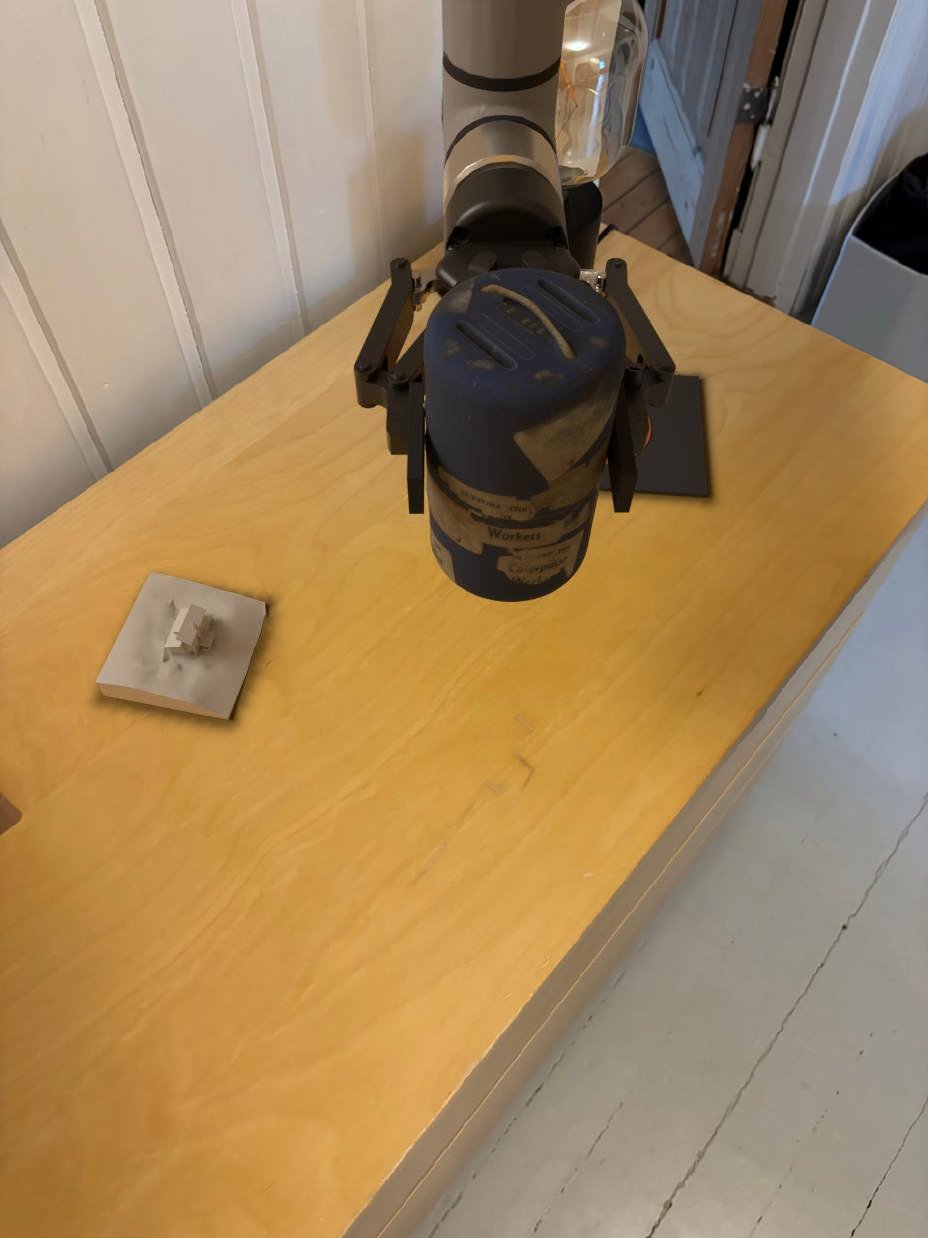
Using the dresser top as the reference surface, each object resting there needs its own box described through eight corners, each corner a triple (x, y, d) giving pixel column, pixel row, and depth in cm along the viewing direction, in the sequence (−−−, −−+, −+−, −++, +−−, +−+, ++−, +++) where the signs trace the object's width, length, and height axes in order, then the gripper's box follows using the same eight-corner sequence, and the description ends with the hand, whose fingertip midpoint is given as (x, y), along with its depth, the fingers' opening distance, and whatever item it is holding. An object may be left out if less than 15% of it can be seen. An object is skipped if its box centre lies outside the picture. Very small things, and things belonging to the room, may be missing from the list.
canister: (469, 636, 53) (475, 404, 38) (404, 517, 58) (387, 268, 43) (615, 580, 56) (676, 339, 40) (541, 469, 60) (572, 217, 45)
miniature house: (259, 718, 66) (249, 693, 63) (98, 726, 65) (80, 700, 62) (269, 579, 72) (260, 549, 69) (122, 585, 72) (107, 555, 69)
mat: (697, 379, 85) (699, 375, 84) (706, 497, 77) (708, 493, 77) (499, 366, 85) (499, 362, 85) (489, 483, 78) (489, 479, 77)
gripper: (670, 270, 61) (728, 541, 49) (330, 271, 61) (304, 544, 49) (695, 161, 55) (767, 440, 43) (316, 161, 55) (281, 443, 43)
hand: (521, 495), depth 46 cm, fingers closed on canister, 10 cm apart
